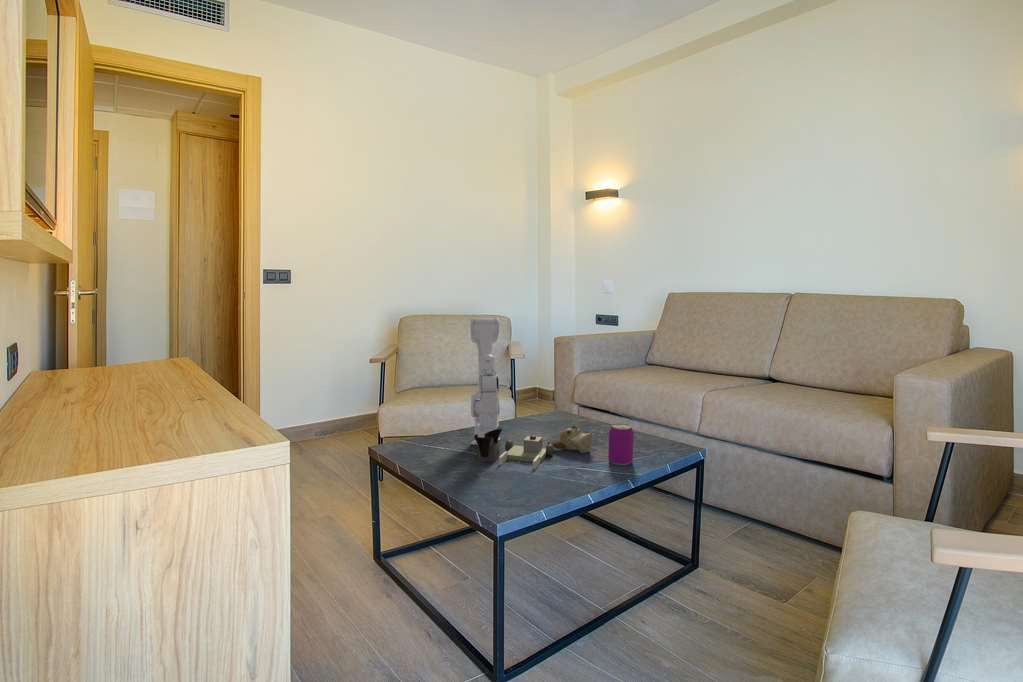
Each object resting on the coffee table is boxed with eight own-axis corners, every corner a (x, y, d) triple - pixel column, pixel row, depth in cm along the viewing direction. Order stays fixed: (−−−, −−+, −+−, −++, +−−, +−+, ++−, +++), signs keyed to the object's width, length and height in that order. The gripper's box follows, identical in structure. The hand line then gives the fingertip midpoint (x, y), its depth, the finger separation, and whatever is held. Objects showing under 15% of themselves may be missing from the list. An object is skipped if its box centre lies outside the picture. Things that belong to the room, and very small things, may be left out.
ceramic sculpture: (583, 431, 185) (545, 426, 194) (584, 458, 185) (546, 451, 194) (599, 425, 193) (562, 420, 202) (600, 450, 194) (562, 444, 203)
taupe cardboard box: (482, 456, 187) (482, 436, 187) (499, 457, 186) (499, 438, 185) (477, 459, 184) (477, 440, 183) (495, 461, 182) (495, 442, 181)
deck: (508, 448, 194) (508, 431, 194) (553, 453, 190) (554, 435, 189) (492, 464, 179) (492, 444, 179) (541, 469, 175) (541, 450, 174)
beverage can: (637, 463, 181) (639, 427, 179) (618, 467, 177) (620, 430, 175) (621, 456, 187) (622, 421, 186) (603, 460, 183) (604, 424, 182)
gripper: (484, 406, 191) (484, 445, 192) (468, 416, 177) (468, 458, 179) (504, 407, 189) (504, 447, 190) (489, 418, 175) (489, 461, 177)
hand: (488, 453), depth 184 cm, fingers open, 7 cm apart
